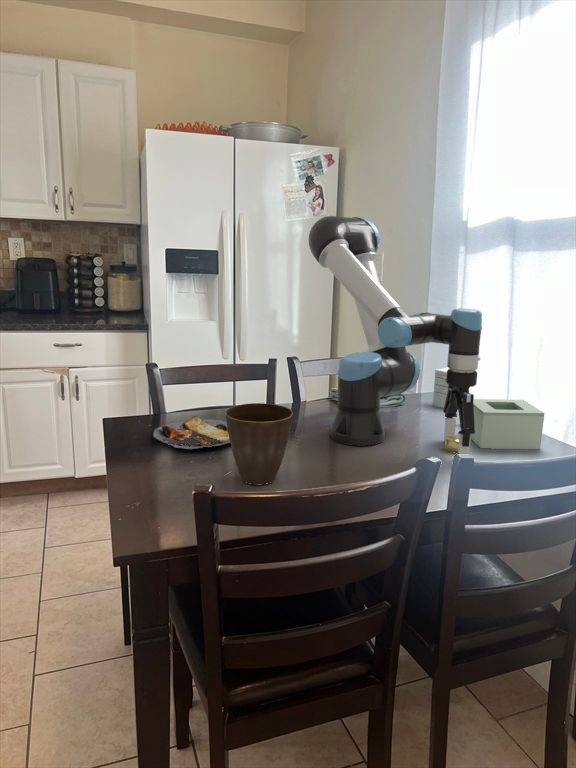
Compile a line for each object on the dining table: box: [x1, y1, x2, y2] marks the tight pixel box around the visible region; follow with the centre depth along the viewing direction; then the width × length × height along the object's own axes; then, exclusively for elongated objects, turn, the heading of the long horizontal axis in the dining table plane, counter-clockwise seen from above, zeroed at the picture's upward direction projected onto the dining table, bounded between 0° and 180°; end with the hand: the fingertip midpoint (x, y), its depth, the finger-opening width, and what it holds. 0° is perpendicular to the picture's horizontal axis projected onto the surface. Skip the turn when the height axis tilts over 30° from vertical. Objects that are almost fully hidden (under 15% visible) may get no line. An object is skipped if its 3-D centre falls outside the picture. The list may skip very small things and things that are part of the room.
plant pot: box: [224, 402, 294, 484], centre depth 128 cm, size 15×15×16 cm
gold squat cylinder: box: [444, 435, 459, 454], centre depth 152 cm, size 6×6×3 cm
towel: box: [329, 386, 407, 409], centre depth 199 cm, size 18×21×5 cm
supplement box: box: [432, 366, 449, 409], centre depth 193 cm, size 7×7×13 cm
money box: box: [467, 398, 545, 450], centre depth 159 cm, size 16×14×10 cm
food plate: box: [152, 415, 231, 450], centre depth 158 cm, size 25×23×4 cm
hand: (455, 449), depth 152 cm, fingers open, 12 cm apart
